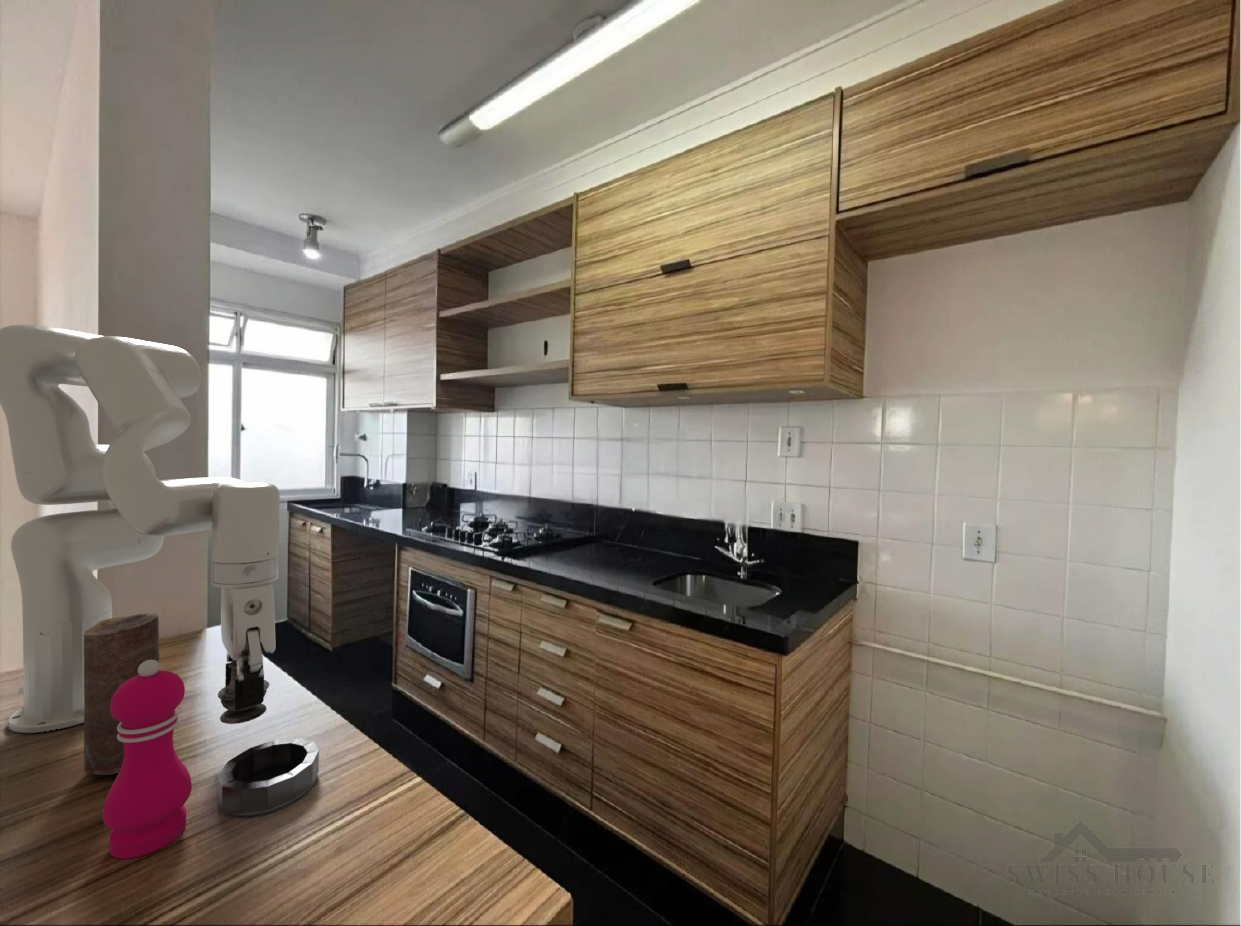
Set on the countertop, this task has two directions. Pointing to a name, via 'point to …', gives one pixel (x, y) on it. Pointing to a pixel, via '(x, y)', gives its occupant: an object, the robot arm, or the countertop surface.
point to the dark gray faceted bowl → (268, 777)
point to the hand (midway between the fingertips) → (244, 695)
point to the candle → (112, 682)
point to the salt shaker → (228, 699)
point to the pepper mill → (147, 765)
